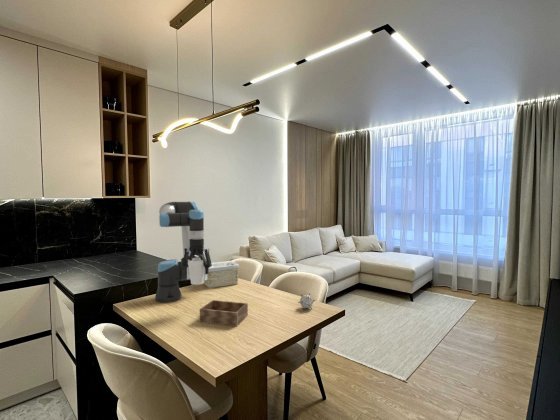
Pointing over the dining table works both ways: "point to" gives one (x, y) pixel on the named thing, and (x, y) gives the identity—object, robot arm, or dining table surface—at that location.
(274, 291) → the dining table surface
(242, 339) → the dining table surface
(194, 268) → the foam cup
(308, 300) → the grey spiked ball
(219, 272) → the storage basket
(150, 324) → the dining table surface
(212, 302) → the brown wooden tray
